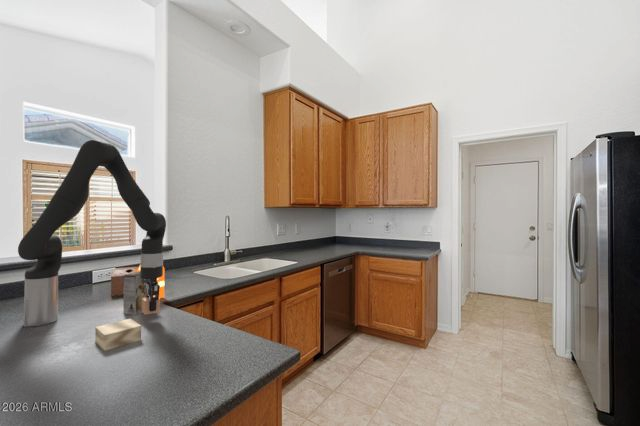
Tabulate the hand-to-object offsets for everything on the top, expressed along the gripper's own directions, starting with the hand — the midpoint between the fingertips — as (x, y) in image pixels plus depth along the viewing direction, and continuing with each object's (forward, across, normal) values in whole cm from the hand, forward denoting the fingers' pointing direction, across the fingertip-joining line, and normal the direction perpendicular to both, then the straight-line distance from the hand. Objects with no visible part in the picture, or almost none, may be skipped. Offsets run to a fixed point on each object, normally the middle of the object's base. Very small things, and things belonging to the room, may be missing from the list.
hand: (150, 308), depth 111 cm
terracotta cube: (+1, 0, 0) cm, 1 cm away
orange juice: (+5, -33, +7) cm, 34 cm away
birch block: (+5, +11, -12) cm, 17 cm away
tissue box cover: (+6, -63, +3) cm, 63 cm away
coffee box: (+5, -18, -1) cm, 19 cm away
